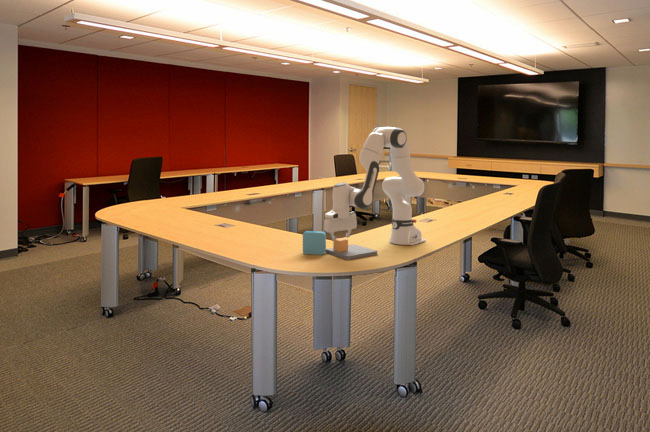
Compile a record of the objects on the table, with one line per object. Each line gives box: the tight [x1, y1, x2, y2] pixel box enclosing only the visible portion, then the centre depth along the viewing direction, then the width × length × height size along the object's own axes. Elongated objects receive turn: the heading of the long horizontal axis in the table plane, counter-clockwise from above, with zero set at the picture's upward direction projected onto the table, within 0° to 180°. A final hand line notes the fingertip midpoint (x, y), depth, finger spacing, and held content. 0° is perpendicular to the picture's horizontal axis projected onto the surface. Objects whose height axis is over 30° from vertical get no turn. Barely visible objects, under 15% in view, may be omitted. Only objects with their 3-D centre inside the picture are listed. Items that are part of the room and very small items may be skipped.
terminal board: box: [324, 244, 378, 261], centre depth 279 cm, size 20×20×6 cm
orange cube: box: [332, 237, 349, 252], centre depth 278 cm, size 6×6×6 cm
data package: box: [302, 230, 327, 256], centre depth 278 cm, size 12×4×12 cm, turn 80°
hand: (340, 238), depth 278 cm, fingers open, 8 cm apart
